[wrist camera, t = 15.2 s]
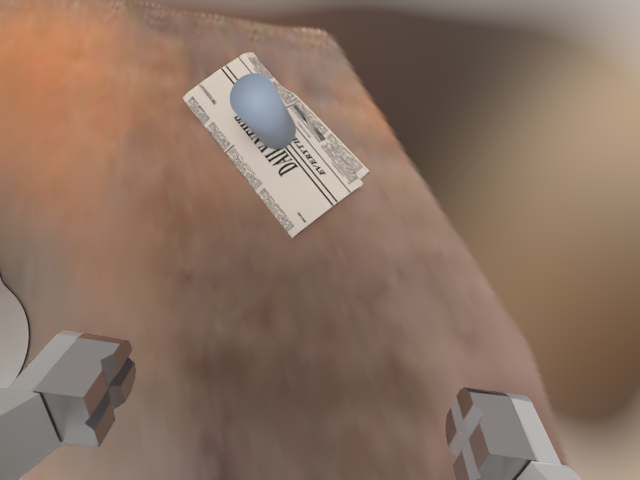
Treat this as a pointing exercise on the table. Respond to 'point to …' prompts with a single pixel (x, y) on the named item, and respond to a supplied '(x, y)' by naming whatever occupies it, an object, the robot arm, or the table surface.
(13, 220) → the table surface
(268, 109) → the blue peg
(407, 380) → the table surface
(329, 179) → the newspaper
